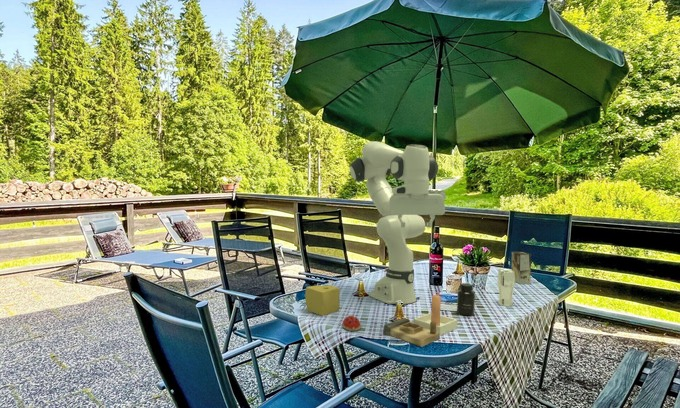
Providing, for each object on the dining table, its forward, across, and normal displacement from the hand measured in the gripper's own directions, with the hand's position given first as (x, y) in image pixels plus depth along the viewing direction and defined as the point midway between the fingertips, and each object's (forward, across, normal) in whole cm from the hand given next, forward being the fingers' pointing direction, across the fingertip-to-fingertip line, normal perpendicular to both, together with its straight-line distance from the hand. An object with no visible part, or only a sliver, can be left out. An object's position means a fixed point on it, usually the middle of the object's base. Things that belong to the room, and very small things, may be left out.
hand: (415, 227), depth 141 cm
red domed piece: (+38, +23, +1) cm, 44 cm away
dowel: (+36, -8, -1) cm, 37 cm away
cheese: (+37, +36, -17) cm, 54 cm away
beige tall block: (+37, -44, -32) cm, 66 cm away
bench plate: (+37, +2, +8) cm, 38 cm away
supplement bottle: (+37, -23, -18) cm, 47 cm away
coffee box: (+37, -68, -74) cm, 107 cm away
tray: (+37, -8, -1) cm, 38 cm away
